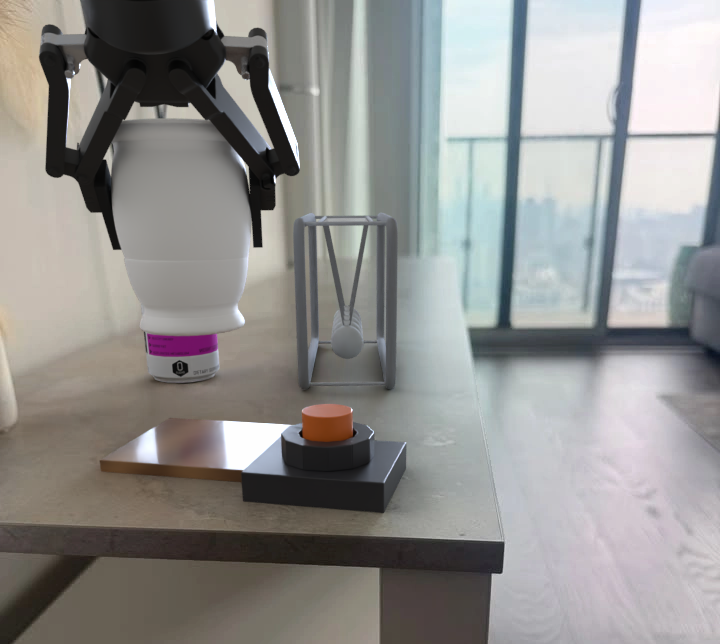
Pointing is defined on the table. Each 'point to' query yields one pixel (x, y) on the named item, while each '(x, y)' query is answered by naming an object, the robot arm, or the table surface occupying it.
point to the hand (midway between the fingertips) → (188, 235)
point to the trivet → (194, 449)
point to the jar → (182, 223)
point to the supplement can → (181, 357)
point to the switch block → (326, 471)
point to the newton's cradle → (347, 318)
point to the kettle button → (327, 422)
